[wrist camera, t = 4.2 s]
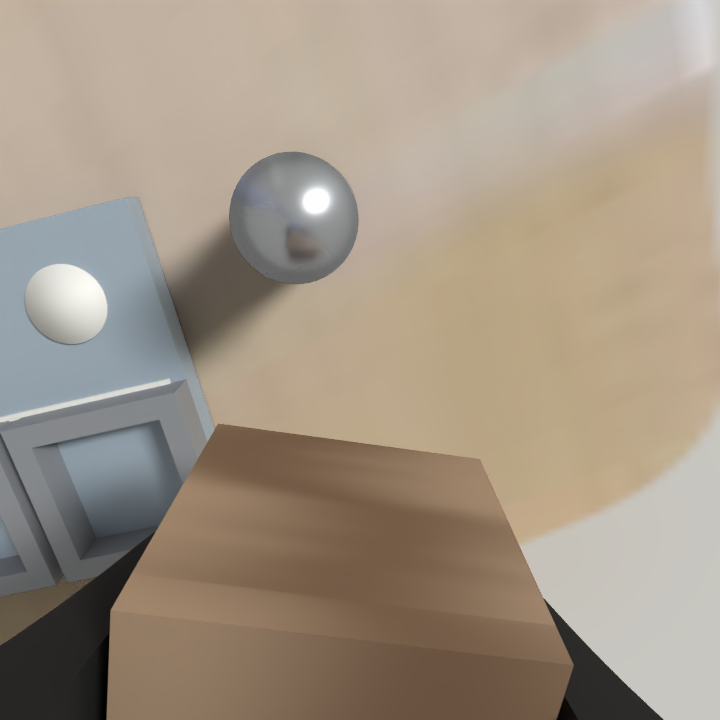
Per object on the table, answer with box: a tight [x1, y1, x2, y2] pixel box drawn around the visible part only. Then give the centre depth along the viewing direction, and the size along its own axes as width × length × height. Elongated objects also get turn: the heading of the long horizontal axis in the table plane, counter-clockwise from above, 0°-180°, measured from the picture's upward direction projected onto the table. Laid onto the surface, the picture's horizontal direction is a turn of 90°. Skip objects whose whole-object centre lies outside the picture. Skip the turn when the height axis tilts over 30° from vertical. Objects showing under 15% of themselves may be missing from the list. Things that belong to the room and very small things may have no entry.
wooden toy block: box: [107, 424, 574, 720], centre depth 9 cm, size 5×5×5 cm
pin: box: [229, 152, 358, 284], centre depth 15 cm, size 3×3×6 cm
